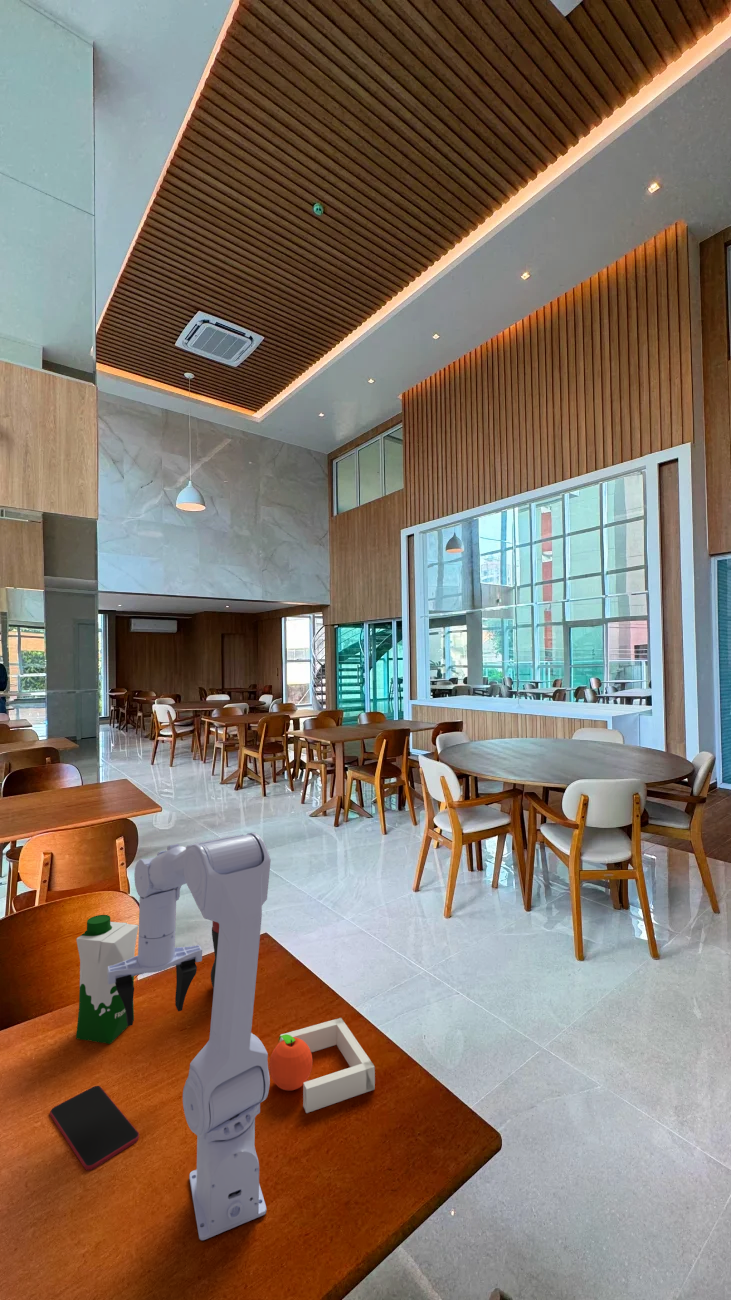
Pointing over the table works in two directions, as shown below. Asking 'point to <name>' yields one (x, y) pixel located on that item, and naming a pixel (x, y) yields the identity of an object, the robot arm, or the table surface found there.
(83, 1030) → the milk carton
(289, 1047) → the clementine
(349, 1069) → the holder
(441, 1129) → the table surface
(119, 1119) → the smartphone
